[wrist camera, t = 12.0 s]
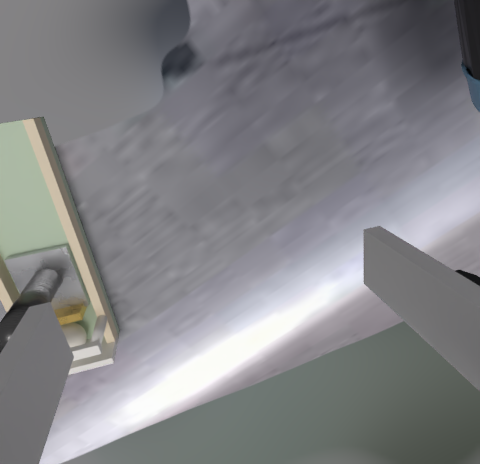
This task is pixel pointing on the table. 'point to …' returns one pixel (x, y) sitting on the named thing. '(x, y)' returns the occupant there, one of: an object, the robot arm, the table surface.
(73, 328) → the ball
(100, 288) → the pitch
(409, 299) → the robot arm
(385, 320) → the table surface
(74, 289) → the rod
